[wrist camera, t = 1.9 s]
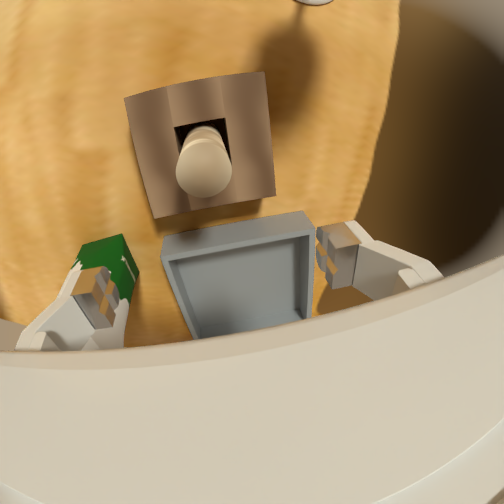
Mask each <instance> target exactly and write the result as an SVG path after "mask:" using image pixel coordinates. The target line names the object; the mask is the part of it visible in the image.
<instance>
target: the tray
mask: <svg viewBox="0 0 504 504" xmlns="http://www.w3.org/2000/svg"><path fill="white" fill-rule="evenodd" d="M160 258H161V260H162V263H163V266H164V269H165V271H166V274H167V277H168V279H169V282H170V284H171V287H172V289H173V292H174V294H175V297H176V299H177V302H178V304H179V307H180V309H181V312H182V314H183V316H184V319H185V321H186V323H187V326H188V328H189V330H190V333H191V335H192V337H193V339H194V340H197V339H203V338H210V337H216V336H222V335H228V334H234V333H239V332H245V331H250V330H255V329H260V328H266V327H270V326H275V325H280V324H285V323H289V322H294V321H298V320H303V319H307V318H311V313H312V298H313V281H314V259H315V227H314V226H313V224H312V223H311V221H310V220H309V219H308V217H307V216H306V215H305V213H304V212H303V211H298V212H292V213H286V214H280V215H274V216H268V217H262V218H256V219H251V220H245V221H240V222H234V223H229V224H223V225H218V226H212V227H207V228H202V229H197V230H192V231H187V232H182V233H177V234H172V235H167V236H164V240H163V245H162V250H161V256H160Z"/></svg>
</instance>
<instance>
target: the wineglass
mask: <svg viewBox="0 0 504 504" xmlns="http://www.w3.org/2000/svg"><path fill="white" fill-rule="evenodd" d="M297 1H300V2H303V3H306V4H313V5H320V4H325V3H328V2H331V1H332V0H297Z"/></svg>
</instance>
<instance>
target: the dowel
mask: <svg viewBox="0 0 504 504" xmlns="http://www.w3.org/2000/svg"><path fill="white" fill-rule="evenodd" d="M231 175H232V166H231V162H230V160H229V157H228V154H227V151H226V149H225V146H224V143H223V141H222V138H221V135H220V132H219V130H218V128H217V127H216V126H215V125H214V124H212V123H210V122H205V121H203V122H198V123H196V124H194V125H193V126H192V127H191V128H190V129H189V130H188V133H187V135H186V138H185V141H184V144H183V147H182V150H181V153H180V156H179V159H178V163H177V166H176V178H177V181H178V183H179V185H180V187H181V188H182V189H183V190H184V191H185V192H186V193H188V194H190V195H192V196H195V197H200V198H206V197H211V196H214V195H216V194H218V193H220V192H221V191H222V190H224V189H225V187H226V186H227V185H228V183H229V181H230V179H231Z"/></svg>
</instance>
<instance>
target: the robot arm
mask: <svg viewBox="0 0 504 504" xmlns="http://www.w3.org/2000/svg"><path fill="white" fill-rule="evenodd" d="M316 237H317V239H318V241H319V243H318V245H317V246H316V258H317V262H318V265H319V267H320V269H321V271H323V272H325V273H326V275H325V278H326V280H327V282H328V283H329V285H330V287H331V289H336V288H341V287H345V286H350V285H353V287H355V288H356V289H358V290H359V291H361V292H362V293H364V294H366V295H367V296H369V297H370V298H372V299H373V300H375V301H372V302H368V303H365V304H361V305H358V306H354V307H351V308H347V309H343V310H339V311H336V312H332V313H328V314H324V315H320V316H316V317H311V318H307V319H303V320H298V321H294V322H289V323H285V324H280V325H275V326H270V327H266V328H260V329H255V330H250V331H245V332H239V333H234V334H228V335H222V336H216V337H210V338H203V339H197V340H190V341H182V342H175V343H167V344H158V345H149V346H139V347H129V348H117V349H103V350H85V351H81V350H82V349H83V347H84V346H85V344H86V343H87V342H88V340H89V339H90V337H91V336H92V335H93V333H94V332H95V330H97V329H104V328H111V327H113V324H114V320H115V317H116V314H115V312H114V310H115V309H116V308H117V307H118V305H119V292H118V288H117V286H116V284H115V283H114V282H113V281H111V280H110V275H111V274H110V272H109V270H108V269H107V267H105V266H101V267H95V268H90V269H84V270H79V271H75V272H73V273H72V274H71V276H70V278H69V280H68V282H67V284H66V286H65V288H64V290H63V292H62V294H61V296H60V298H57V299H56V300H55V301H54V302H52V303H51V304H50V305H49V306H48V307H47V308H46V309H45V310H44V311H43V312H42V313H41V314H40V315H39V316H37V317H36V318H35V319H34V320H33V321H32V322H31V323H30V324H29V325H28V326H27V327H26V328H25V329H24V330H23V331H22V333H21V335H20V337H19V340H18V342H17V344H16V347H15V349H14V351H0V504H504V255H500V256H497V257H495V258H493V259H491V260H488V261H486V262H484V263H481V264H479V265H476V266H474V267H471V268H469V269H466V270H464V271H461V272H459V273H456V274H454V275H451V276H448V277H445V278H444V276H443V275H442V274H441V273H440V272H439V271H438V270H437V269H436V268H435V267H434V265H433V264H432V263H430V261H428V260H425V259H423V258H421V257H418V256H416V255H413V254H411V253H408V252H406V251H404V250H401V249H399V248H396V247H393V246H391V245H388V244H386V243H383V242H380V241H374V240H373V239H372V238H371V237H370V236H369V235H368V234H367V232H366V231H365V230H364V229H363V228H362V227H361V226H360V225H359V224H358V223H357V222H356V221H354V220H351V221H346V222H341V223H336V224H331V225H326V226H321V227H317V231H316Z"/></svg>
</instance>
